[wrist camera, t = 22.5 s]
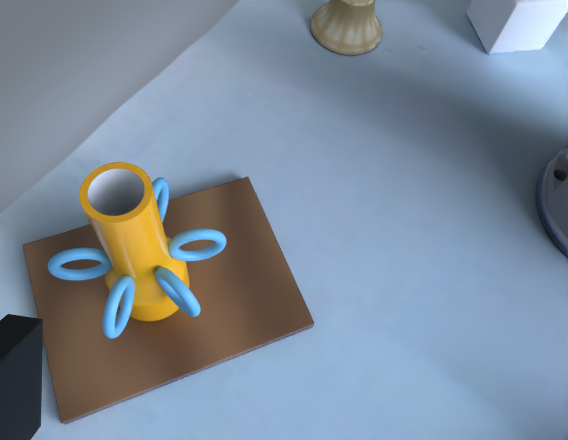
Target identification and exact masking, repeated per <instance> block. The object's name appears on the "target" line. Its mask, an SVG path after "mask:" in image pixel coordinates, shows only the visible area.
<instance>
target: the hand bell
mask: <svg viewBox="0 0 568 440" xmlns="http://www.w3.org/2000/svg"><path fill="white" fill-rule="evenodd" d="M374 10H375V0H330V1H329V3H327V4H325V5H323V6H322V7H320V8H319V9H318V10H317V11H316V12H315V13H314V15H313V17H312V19H311V31H312V34H313V35H314V37H315V38H316V40H317V41H318V42H319V43H320V44H321V45H322V46H324V47H325V48H327V49H329V50H331V51H333V52H336V53H339V54H344V55H360V54H364V53H367V52H369V51H371V50H373V49H374V48H375V47H376V46H377V45H378V44H379V42H380V40H381V37H382V28H381V24H380V22H379V20H378V18H377V17H376V15H375V12H374Z"/></svg>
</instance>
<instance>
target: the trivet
mask: <svg viewBox="0 0 568 440" xmlns="http://www.w3.org/2000/svg"><path fill="white" fill-rule="evenodd" d="M162 224H163V228H164V232H165V236H167V237H169V238H171V239H172V238H173V237H175V236H176V235H178V234H180V233H182V232H185V231H188V230H193V229H201V228H207V229H214V230H217V231H219V232H221V233H222V234H223V235H224V236H225V238H226V246H225V247H224V249H223V250H222V251H221V252H220V253H218V254H217V255H215V256H212V257H210V258H207V259H203V260H198V261H186V265H187V270H188V275H189V290H190V291H191V292H192V293H193V295H194V296H195V298H196V299H197V301H198V303H199V305H200V309H201V311H200V314H199V315H198V316H196V317H191V316H189V315H187V314H186V313H185V312H183V311H182V310H181V309H180V308H179V309H178V310H177V311H176V312H175V313H173V314H172V315H170V316H168V317H166V318H164V319H161V320H157V321H140V320H137V319H134V318H132V317H130V316H129V319H128V321H127V324H126V326H125V328H124V329H123V331H122V332H121V334H120V335H119V336H118V337H116V338H113V339H111V338H108V337H106V336H105V334H104V332H103V326H102V322H103V313H104V309H105V305H106V301H107V298H108V296H109V293H110V290H109V289H108V287H107V284H106V281H105V276H104V275H102V276H99V277H96V278H93V279H88V280H65V279H60V278H57V277H55V276H53V275H52V274H51V273H50V272H49V270H48V262H49V260H50V259H51V258H52V257H53V256H55V255H56V254H58V253H60V252H62V251H65V250H69V249H75V248H96V249H100V250H103V251H105V250H104V248H103V246H102V244H101V242H100V240H99V239H98V237H97V235H96V233H95V231H94V229H93V227H92V225H91V224H90V225H87V226H83V227H80V228H77V229H73V230H70V231H67V232H64V233H60V234H57V235H54V236H50V237H47V238H44V239H41V240H37V241H34V242H31V243H27V244H24V245H23V249H24V253H25V258H26V263H27V267H28V272H29V277H30V281H31V286H32V290H33V295H34V300H35V304H36V309H37V313H38V318H39V319H43V341H44V346H45V350H46V355H47V359H48V364H49V369H50V373H51V378H52V383H53V387H54V392H55V396H56V401H57V406H58V410H59V415H60V419H61V423H63V424H67V423H70V422H73V421H75V420H78V419H80V418H83V417H85V416H88V415H90V414H93V413H95V412H98V411H101V410H103V409H106V408H108V407H111V406H113V405H116V404H118V403H121V402H123V401H126V400H128V399H131V398H134V397H136V396H139V395H141V394H144V393H146V392H149V391H151V390H154V389H156V388H159V387H162V386H164V385H167V384H169V383H172V382H174V381H177V380H179V379H182V378H184V377H187V376H189V375H192V374H195V373H197V372H200V371H202V370H205V369H207V368H210V367H212V366H215V365H217V364H220V363H222V362H225V361H228V360H230V359H233V358H235V357H238V356H240V355H243V354H245V353H248V352H250V351H253V350H256V349H258V348H261V347H263V346H266V345H268V344H271V343H273V342H276V341H278V340H281V339H283V338H286V337H289V336H291V335H294V334H296V333H299V332H301V331H304V330H306V329H309V328H311V327H313V325H314V321H313V319H312V317H311V315H310V313H309V310H308V308H307V306H306V304H305V302H304V299H303V297H302V295H301V293H300V290H299V288H298V286H297V284H296V282H295V279H294V277H293V275H292V273H291V271H290V268H289V266H288V264H287V262H286V259H285V257H284V255H283V253H282V251H281V248H280V246H279V244H278V242H277V240H276V237H275V235H274V233H273V231H272V228H271V226H270V224H269V222H268V220H267V217H266V215H265V213H264V211H263V208H262V206H261V204H260V202H259V200H258V197H257V195H256V193H255V191H254V189H253V186H252V184H251V182H250V180H249V177H245V178H241V179H238V180H235V181H232V182H228V183H225V184H222V185H218V186H215V187H212V188H209V189H205V190H202V191H199V192H195V193H192V194H189V195H185V196H182V197H179V198H176V199H172V200H169V201H168V205H167V210H166V214H165V217H164V220H163V222H162ZM214 243H215V241H213V240H205V239H204V240H195V241H190V242H187V243H185V244H183V245H181V246H180V248H181V250H184V251H196V250H201V249H205V248H207V247H210V246H211V245H213V244H214ZM101 263H102V262H100V261H97V260H91V259H80V260H73V261H69V262H66V263H64V264H62V265H61V267H63V268H66V269H72V270H81V269H89V268H93V267H96V266H98V265H100V264H101ZM119 311H120V307H119V305H118V308H117V312H116V318H117V316H118V314H119ZM116 318H115V320H116Z"/></svg>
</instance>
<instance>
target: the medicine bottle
mask: <svg viewBox="0 0 568 440" xmlns="http://www.w3.org/2000/svg"><path fill="white" fill-rule="evenodd" d="M567 11H568V0H472V1H471V3H470V5H469V7H468V9H467V15H468V17H469V19H470V21H471V23H472V25H473V27H474V29H475V31H476V33H477V35H478V36H479V38H480V40H481V42H482V44H483V46H484V48H485V50H486V52H487V53H488V54H496V53H507V52H517V51H528V50H538V49H542V48H543V46H544V45H545V43H546V42H547V40H548V39H549V38H550V36H551V35H552V33H553V32H554V30H555V29H556V27H557V26H558V24H559V23H560V21H561V20H562V18H563V17H564V16H565V14H566V13H567Z"/></svg>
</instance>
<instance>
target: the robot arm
mask: <svg viewBox="0 0 568 440" xmlns="http://www.w3.org/2000/svg"><path fill="white" fill-rule="evenodd" d="M536 200H537V207H538V211H539V214H540V218H541V220H542V222H543V225H544V226H545V228H546V230H547V232H548V233H549V235H550V237H551V238H552V239H553V241H554V242H555V243H556V245H557V246H558V247H559V248H560V249H561V250H562V251H563V252H564V253H565V254H566V255H567V256H568V147H566V148H564V149H563V150H562V151H560V152H559V153H558V154H557V155H556V156H555V157H554V158H553V159H552V160H551V161H550V162H549V163H548V165H547V166H546V167H545V168H544V170H543V171H542V173H541V175H540V177H539V180H538V183H537V189H536ZM42 346H43V319H37V318H31V317H24V316H18V315H11V314H7V315H6V316H5V317H4V318H3V319H1V320H0V440H31V438H32V437H33V436H34V434H35V433H36V432H37V430H38V429H39V427H40V426H41V391H42Z"/></svg>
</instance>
